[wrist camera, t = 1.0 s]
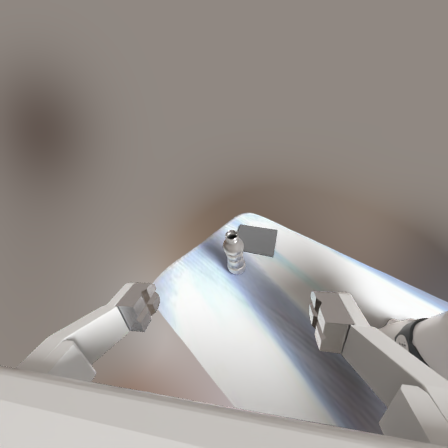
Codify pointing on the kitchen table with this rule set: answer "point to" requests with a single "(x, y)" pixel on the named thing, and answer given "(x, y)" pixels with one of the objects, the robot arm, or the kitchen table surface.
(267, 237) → the mat
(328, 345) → the robot arm
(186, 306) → the kitchen table surface
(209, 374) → the kitchen table surface
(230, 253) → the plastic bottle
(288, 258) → the kitchen table surface
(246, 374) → the kitchen table surface
